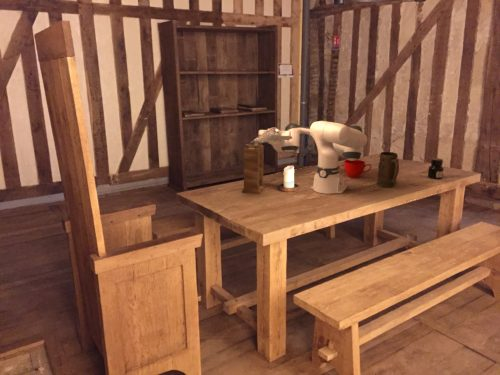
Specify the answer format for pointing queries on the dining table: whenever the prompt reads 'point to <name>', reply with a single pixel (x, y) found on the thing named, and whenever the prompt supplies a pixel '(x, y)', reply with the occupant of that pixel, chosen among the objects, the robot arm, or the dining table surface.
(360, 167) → the ceramic cup
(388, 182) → the beer stein
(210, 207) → the dining table surface
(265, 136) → the brushed square bar end
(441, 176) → the ink bottle
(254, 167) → the knife block
